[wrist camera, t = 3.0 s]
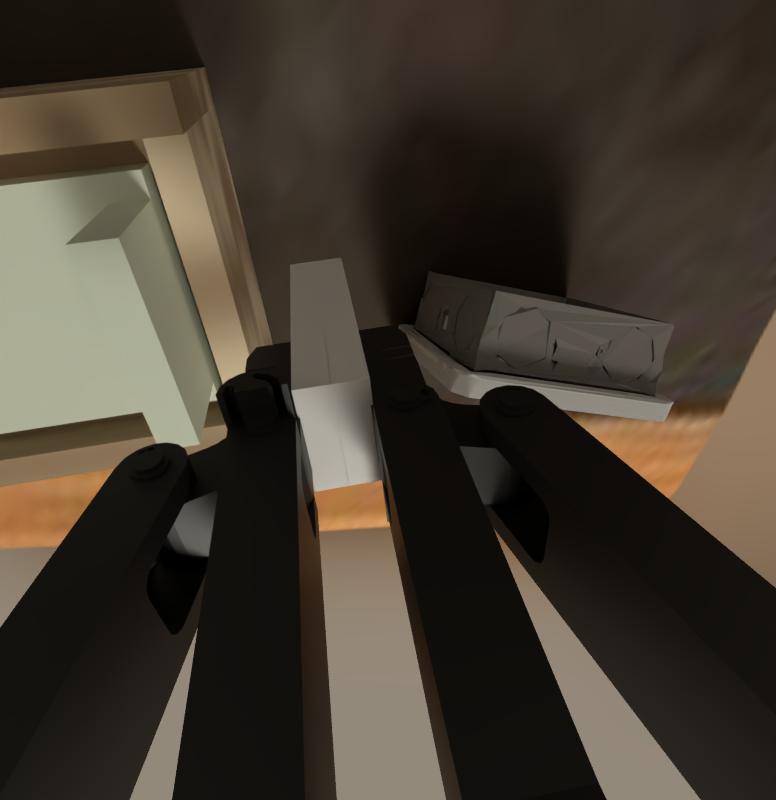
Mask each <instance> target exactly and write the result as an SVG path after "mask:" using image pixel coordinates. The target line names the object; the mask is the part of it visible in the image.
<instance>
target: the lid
mask: <svg viewBox="0 0 776 800" xmlns="http://www.w3.org/2000/svg"><path fill="white" fill-rule="evenodd" d="M221 385H222V383H221V380H220V377H219V374H218V371H217V368H216V365H215V362H214V359H213V356H212V353H211V350H210V347H209V344H208V341H207V338H206V335H205V332H204V328H203V325H202V322H201V319H200V316H199V313H198V310H197V307H196V304H195V301H194V298H193V295H192V292H191V289H190V286H189V283H188V280H187V277H186V274H185V271H184V268H183V265H182V262H181V259H180V256H179V253H178V250H177V247H176V244H175V241H174V238H173V235H172V231H171V228H170V225H169V222H168V219H167V216H166V213H165V210H164V207H163V204H162V201H161V198H160V195H159V192H158V189H157V186H156V183H155V180H154V177H153V174H152V171H151V168H150V165H149V162H147V163H139V164H130V165H122V166H113V167H105V168H96V169H87V170H79V171H70V172H62V173H53V174H44V175H36V176H27V177H19V178H10V179H1V180H0V434H4V433H10V432H17V431H23V430H30V429H36V428H43V427H49V426H56V425H62V424H68V423H75V422H81V421H88V420H94V419H101V418H107V417H114V416H120V415H126V414H133V413H139V412H142V413H143V415H144V417H145V419H146V421H147V424H148V426H149V428H150V430H151V432H152V434H153V437H154V439H155V441H156V443H157V444H158V443H165V442H167V443H174V444H178V445H180V446H181V447H188V446H194V445H200V442H201V438H202V433H203V428H204V424H205V419H206V414H207V410H208V405H209V402H210V401H217V398H216V393H217V391H218V389H219V387H220V386H221Z"/></svg>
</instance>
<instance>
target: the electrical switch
mask: <svg viewBox="0 0 776 800" xmlns="http://www.w3.org/2000/svg"><path fill="white" fill-rule="evenodd" d="M564 300H565V298H563V297H558V296H553V295H548V294H543V293H537V292H532V291H527V290H522V289H516V288H511V287H506V286H501V285H495V284H490V283H485V282H480V281H474V280H469V279H464V278H459V277H454V276H448V275H443V274H438V273H435V272H432V271H429V272H428V277H427V282H426V286H425V291H424V296H423V297H422V298H421V301H420V305H419V309H418V314H417V319H416V322H415V325H408V324H401V325H399V329H401V330H402V331H403V332H405V333H406V335H407V337H408V340H409V342H410V345H411V347H412V350H413V352H414V355H415V357H416V360H417V361H418V362H419V363H420V364H421V365H422V366H423V367H424V368H426V369H427V370H428V371H429V372H430V373H431V374H432V375H433V376H434V377H435V378H436V379H438V380H439V381H440V382H441V383H442V384H443V385H444V386H445V387H446V388H447V389H448V390H450V391H451V392H454V393H457V394H460V395H463V396H466V397H469V398H477V399H481V398H482V396H483V395H484V394H485V393H486V392H487V391H489V390H491V389H493V388H495V387H500V386H506V385H516V386H524V387H527V388H531V389H534V390H536V391H537V392H539V393H541V394H543V395H544V396H545V397H546V398H548V399H549V400H550V401H551V402H552V403H554V404H555V405H556V406H557V407H559V408H560V409H563V410H571V411H579V412H587V413H595V414H603V415H611V416H619V417H626V418H634V419H642V420H650V421H658V422H662V421H664V420H665V419H666V417H667V415H668V413H669V410H670V408H671V406H672V404H673V403H674V401H672V400H670V399H668V398H666V397H665V396H663V395H660V394H657V393H655V392H656V383H657V380H658V378H659V376H660V374H661V371H662V369H663V356H664V353H665V350H666V347H667V345H668V342H669V339H670V337H671V334H672V331H673V329H674V326H675V325H674V324H670V323H666V322H662V321H658V320H654V319H650V318H647V317H643V316H639V315H635V314H631V313H627V312H623V311H619V310H615V309H611V308H607V307H603V306H599V305H595V304H591V303H587V302H583V301H579V300H575V299H571V298H567V299H566V302H565V304H564ZM488 312H489V313H488Z"/></svg>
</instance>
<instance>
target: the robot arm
mask: <svg viewBox="0 0 776 800" xmlns="http://www.w3.org/2000/svg"><path fill="white" fill-rule="evenodd" d="M290 310H291V342H287V343H280V344H274V345H267V346H260V347H256V348H255V349H254V351H253V352H252V353H251V354H250V355H249V357H248V358H247V360H246V368H245V373H241V374H239V375H237V376H235V377H233V378H231V379H228V380H227V381H226V382H225V383H224V384H222V385H221V386H220V387H219V389H218V391H217V393H216V398H217V401H218V404H219V407H220V410H221V413H222V415H223V418H224V421H225V424H226V427H227V435H226V438H225V439H223V440H221V441H220V442H218V443H217V444H215V445H212V446H210V447H208V448H206V449H203V450H200V451H198V452H195V453H192V454H190V455H188V454H187V452H186V449H185V448H183V447H181V446H180V445H178V444H174V443H167V442H165V443H158V444H152V445H149V446H146V447H143V448H141V449H138V450H137V451H135V452H133V453H132V454H130V455H128V456H127V457H125V458H124V459H123V460H122V461H121V462H120V463H119V464H118V465H117V466H116V468H115V469H114V471H113V472H112V473H111V475H110V476H109V477H108V479H107V480H106V482H105V483H104V484H103V486H102V487H101V489H100V490H99V491H98V493H97V494H96V496H95V497H94V498H93V500H92V501H91V502H90V504H89V505H88V507H87V508H86V509H85V511H84V512H83V514H82V515H81V516H80V518H79V519H78V520H77V522H76V523H75V525H74V526H73V527H72V529H71V530H70V532H69V533H68V534H67V536H66V537H65V539H64V540H63V541H62V543H61V544H60V545H59V547H58V548H57V550H56V551H55V553H54V554H53V555H52V557H51V558H50V559H49V561H48V562H47V563H46V565H45V566H44V568H43V569H42V570H41V572H40V573H39V575H38V576H37V578H36V579H35V580H34V582H33V583H32V584H31V586H30V587H29V589H28V590H27V591H26V593H25V594H24V595H23V597H22V598H21V600H20V601H19V602H18V604H17V605H16V607H15V608H14V609H13V611H12V612H11V613H10V615H9V616H8V618H7V619H6V620H5V622H4V623H3V625H2V626H1V627H0V800H129V799H130V797H131V794H132V792H133V789H134V786H135V784H136V782H137V779H138V776H139V774H140V772H141V769H142V766H143V764H144V762H145V759H146V757H147V754H148V751H149V749H150V746H151V744H152V741H153V739H154V736H155V734H156V731H157V729H158V726H159V724H160V721H161V719H162V716H163V714H164V711H165V709H166V706H167V703H168V701H169V698H170V696H171V693H172V691H173V688H174V686H175V683H176V681H177V678H178V676H179V673H180V671H181V668H182V665H183V663H184V661H185V658H186V655H187V653H188V650H189V648H190V645H191V643H192V640H193V638H194V635H195V633H196V630H197V628H198V630H197V637H196V643H195V650H194V657H193V664H192V670H191V677H190V683H189V691H188V697H187V703H186V710H185V717H184V724H183V730H182V737H181V744H180V751H179V757H178V764H177V770H176V777H175V784H174V791H173V797H172V800H337V797H336V782H335V767H334V752H333V737H332V722H331V706H330V691H329V676H328V662H327V646H326V631H325V616H324V603H323V602H324V601H323V585H322V571H321V555H320V540H319V525H318V510H317V506H316V502H315V497H314V492H313V485H314V489H315V492H316V491H322V490H328V489H333V488H339V487H345V486H351V485H357V484H362V483H368V482H374V481H380V480H382V482H383V490H384V498H385V507H386V515H387V522H389V523H390V527H391V532H392V537H393V542H394V547H395V552H396V557H397V562H398V566H399V571H400V576H401V581H402V586H403V591H404V595H405V601H406V605H407V610H408V615H409V620H410V625H411V630H412V635H413V640H414V645H415V649H416V654H417V659H418V663H419V669H420V674H421V679H422V684H423V688H424V693H425V698H426V703H427V707H428V713H429V717H430V723H431V727H432V732H433V737H434V742H435V747H436V751H437V757H438V762H439V766H440V771H441V776H442V781H443V786H444V791H445V796H446V800H607V799H606V797H605V795H604V793H603V791H602V789H601V787H600V785H599V783H598V780H597V778H596V776H595V773H594V770H593V768H592V766H591V763H590V761H589V758H588V756H587V754H586V751H585V749H584V746H583V744H582V741H581V739H580V737H579V734H578V732H577V729H576V727H575V725H574V722H573V720H572V717H571V715H570V712H569V710H568V708H567V705H566V703H565V700H564V698H563V696H562V693H561V691H560V688H559V686H558V683H557V681H556V679H555V676H554V674H553V671H552V669H551V666H550V664H549V662H548V660H547V657H546V654H545V652H544V650H543V647H542V645H541V642H540V640H539V637H538V635H537V633H536V630H535V628H534V626H533V623H532V621H531V618H530V616H529V613H528V611H527V608H526V606H525V604H524V601H523V599H522V596H521V594H520V591H519V589H518V587H517V584H516V582H515V579H514V577H513V575H512V572H511V570H510V567H509V565H508V562H507V560H506V558H505V555H504V553H503V550H502V548H501V546H500V543H499V541H498V538H497V536H496V533H495V531H494V529H495V530H496V531H497V533H498V534H499V535H500V537H501V538H502V539H503V540H504V542H505V543H506V545H507V546H508V547H509V549H510V550H511V551H512V553H513V554H514V555H515V556H516V558H517V559H518V560H519V562H520V563H521V564H522V566H523V567H524V568H525V570H526V571H527V572H528V574H529V575H530V576H531V578H532V579H533V580H534V581H535V583H536V584H537V585H538V587H539V588H540V589H541V591H542V592H543V593H544V594H545V596H546V597H547V599H548V600H549V601H550V602H551V604H552V605H553V606H554V608H555V609H556V610H557V612H558V613H559V614H560V616H561V617H562V618H563V619H564V621H565V622H566V623H567V625H568V626H569V627H570V629H571V630H572V631H573V632H574V634H575V635H576V637H577V638H578V639H579V640H580V642H581V643H582V644H583V646H584V647H585V648H586V650H587V651H588V652H589V654H590V655H591V656H592V657H593V659H594V660H595V661H596V663H597V664H598V665H599V667H600V668H601V669H602V671H603V672H604V673H605V675H606V676H607V677H608V678H609V680H610V681H611V682H612V684H613V685H614V686H615V688H616V689H617V690H618V692H619V693H620V694H621V696H622V697H623V698H624V699H625V701H626V702H627V703H628V705H629V706H630V707H631V709H632V710H633V711H634V712H635V714H636V715H637V717H638V718H639V719H640V720H641V722H642V723H643V724H644V726H645V727H646V728H647V730H648V731H649V732H650V734H651V735H652V736H653V737H654V739H655V740H656V741H657V743H658V744H659V745H660V747H661V748H662V749H663V751H664V752H665V753H666V755H667V756H668V757H669V758H670V760H671V761H672V762H673V764H674V765H675V766H676V767H677V769H678V770H679V772H680V773H681V774H682V776H683V777H684V778H685V780H686V781H687V782H688V783H689V785H690V786H691V787H692V789H693V790H694V791H695V793H696V794H697V795H698V797H699V798H700V799H701V800H776V588H775V587H774V586H773V585H771V584H770V583H769V582H768V581H767V580H765V579H764V578H763V577H762V576H761V575H759V574H758V573H757V572H756V571H754V570H753V569H752V568H751V567H750V566H748V565H747V564H746V563H745V562H744V561H742V560H741V559H740V558H739V557H737V556H736V555H735V554H734V553H733V552H732V551H730V550H729V549H728V548H727V547H726V546H724V545H723V544H722V543H721V542H720V541H718V540H717V539H716V538H715V537H714V536H712V535H711V534H710V533H709V532H708V531H706V530H705V529H704V528H703V527H702V526H700V525H699V524H698V523H697V522H696V521H694V520H693V519H692V518H691V517H689V516H688V515H687V514H686V513H684V512H683V511H682V510H681V509H680V508H679V507H678V506H676V505H675V504H674V503H673V502H672V501H670V500H669V499H668V498H667V497H666V496H664V495H663V494H662V493H661V492H660V491H658V490H657V489H656V488H655V487H653V486H652V485H651V484H650V483H649V482H647V481H646V480H645V479H644V478H643V477H641V476H640V475H639V474H638V473H637V472H635V471H634V470H633V469H632V468H631V467H629V466H628V465H627V464H626V463H625V462H623V461H622V460H621V459H620V458H619V457H617V456H616V455H615V454H614V453H613V452H611V451H610V450H609V449H608V448H607V447H605V446H604V445H603V444H602V443H601V442H599V441H598V440H597V439H596V438H595V437H593V436H592V435H591V434H590V433H589V432H587V431H586V430H585V429H584V428H583V427H581V426H580V425H579V424H578V423H577V422H575V421H574V420H573V419H572V418H571V417H569V416H568V415H567V414H566V413H565V412H563V411H562V410H561V409H560V408H559V407H557V406H556V405H555V404H554V403H552V402H551V401H550V400H549V399H548V398H546V397H545V396H544V395H543V394H541V393H539V392H537V391H536V390H534V389H531V388H527V387H524V386H516V385H506V386H500V387H495V388H493V389H491V390H489V391H487V392H486V393H485V394H484V395H483V396H482V398H481V399H480V405H464V404H455V403H450V402H447V401H443V400H441V399H440V398H439V396H438V394H437V393H436V392H435V390H434V389H433V388H431V387H429V386H427V385H426V382H425V380H424V377H423V375H422V372H421V370H420V367H419V365H418V362H417V360H416V357H415V355H414V352H413V350H412V347H411V345H410V342H409V340H408V337H407V335H406V333H405V332H403V331H402V330H401V329H399V328H398V327H396V326H395V325H392V326H385V327H378V328H371V329H365V330H358V327H357V323H356V319H355V314H354V310H353V306H352V302H351V298H350V293H349V289H348V285H347V281H346V277H345V273H344V268H343V264H342V260H341V258H336V259H329V260H321V261H314V262H307V263H299V264H292V265H290ZM493 528H494V529H493Z"/></svg>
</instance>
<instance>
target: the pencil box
mask: <svg viewBox="0 0 776 800" xmlns="http://www.w3.org/2000/svg"><path fill="white" fill-rule="evenodd" d="M147 162H149V165H150V168H151V171H152V174H153V177H154V180H155V183H156V186H157V189H158V192H159V195H160V198H161V201H162V204H163V207H164V210H165V213H166V216H167V219H168V222H169V225H170V228H171V231H172V235H173V238H174V241H175V244H176V247H177V250H178V253H179V256H180V259H181V262H182V265H183V268H184V271H185V274H186V277H187V280H188V283H189V286H190V289H191V292H192V295H193V298H194V301H195V304H196V307H197V310H198V313H199V316H200V319H201V322H202V325H203V328H204V332H205V335H206V338H207V341H208V344H209V347H210V350H211V353H212V356H213V359H214V362H215V365H216V368H217V371H218V374H219V377H220V380H221V383H222V384H224V383H225V382H226V381H227V380H228V379H231V378H233V377H235V376H237V375H239V374H241V373H245V368H246V360H247V358H248V357H249V355H250V354H251V353H252V352H253V351H254V349H255V348H256V347H260V346H267V345H273V343H272V339H271V335H270V331H269V327H268V323H267V319H266V315H265V311H264V307H263V302H262V298H261V294H260V290H259V286H258V282H257V278H256V274H255V270H254V266H253V262H252V257H251V253H250V249H249V245H248V241H247V237H246V233H245V229H244V225H243V221H242V217H241V213H240V208H239V204H238V200H237V196H236V192H235V188H234V184H233V180H232V176H231V172H230V168H229V164H228V159H227V155H226V151H225V147H224V143H223V139H222V135H221V131H220V127H219V123H218V119H217V115H216V110H215V106H214V102H213V98H212V94H211V90H210V86H209V82H208V78H207V74H206V70H205V67H202V68H192V69H182V70H173V71H163V72H153V73H143V74H134V75H124V76H114V77H104V78H95V79H85V80H75V81H65V82H56V83H46V84H36V85H26V86H17V87H7V88H0V180H1V179H10V178H19V177H27V176H36V175H44V174H53V173H62V172H70V171H79V170H87V169H96V168H105V167H113V166H122V165H130V164H139V163H147ZM226 435H227V427H226V424H225V421H224V418H223V415H222V413H221V410H220V407H219V404H218V401H210V402H209V405H208V410H207V414H206V419H205V424H204V428H203V433H202V438H201V442H200V445H194V446H188V447H183V448H185V449H186V452H187V454H188V455H190V454H192V453H195V452H198V451H200V450H203V449H206V448H208V447H210V446H212V445H215V444H217V443H218V442H220V441H221V440H223V439H225V438H226ZM152 444H157V443H156V441H155V439H154V437H153V434H152V432H151V430H150V428H149V426H148V424H147V421H146V419H145V417H144V415H143V413H142V412H139V413H133V414H126V415H120V416H114V417H107V418H101V419H94V420H88V421H81V422H75V423H68V424H62V425H56V426H49V427H43V428H36V429H30V430H23V431H17V432H10V433H4V434H0V487H3V486H9V485H15V484H21V483H28V482H34V481H40V480H46V479H52V478H58V477H64V476H70V475H77V474H83V473H89V472H95V471H101V470H107V469H113V468H116V466H117V465H118V464H119V463H120V462H121V461H122V460H123V459H124V458H125V457H127V456H128V455H130V454H132V453H133V452H135V451H137V450H138V449H141V448H143V447H146V446H149V445H152Z"/></svg>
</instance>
